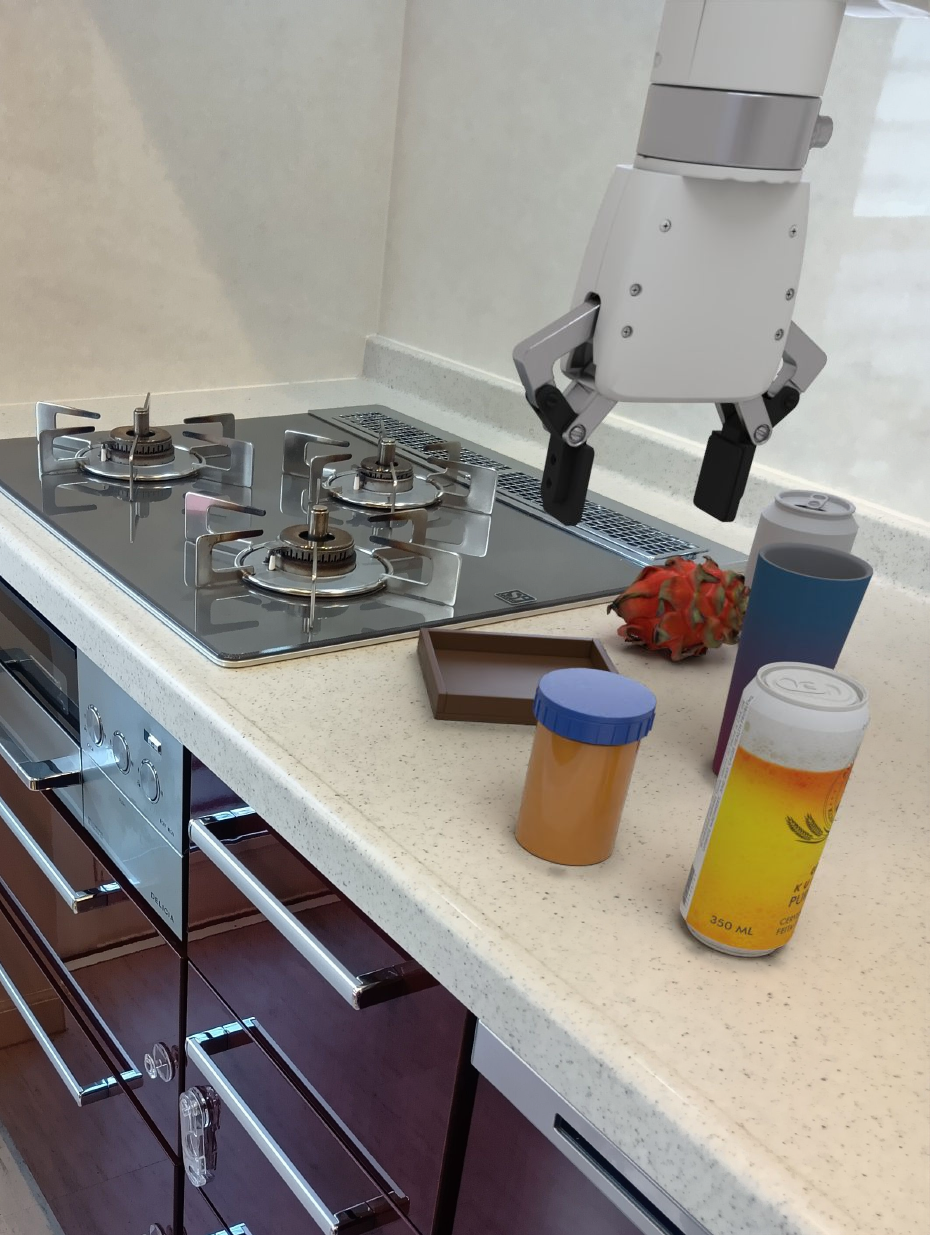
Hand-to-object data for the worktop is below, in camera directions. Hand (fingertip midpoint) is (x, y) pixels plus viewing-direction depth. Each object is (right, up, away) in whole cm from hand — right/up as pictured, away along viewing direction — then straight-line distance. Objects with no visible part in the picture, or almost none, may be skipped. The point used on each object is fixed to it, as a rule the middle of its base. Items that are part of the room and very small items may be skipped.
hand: (637, 515), depth 69 cm
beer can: (+6, -22, +4) cm, 23 cm away
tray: (0, -5, +29) cm, 30 cm away
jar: (-1, -17, +11) cm, 20 cm away
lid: (-1, -9, +6) cm, 11 cm away
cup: (+14, -12, +20) cm, 27 cm away
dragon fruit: (+14, -1, +38) cm, 40 cm away
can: (+23, +1, +41) cm, 48 cm away
